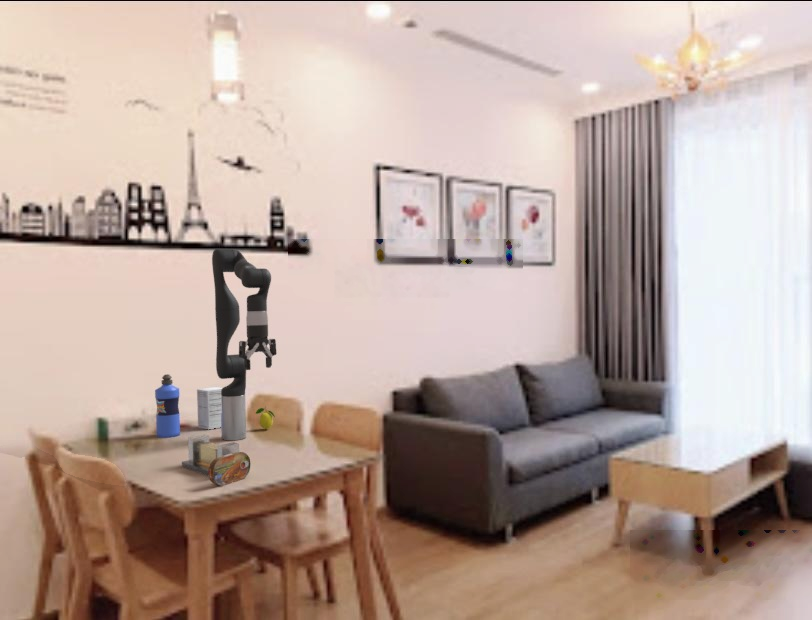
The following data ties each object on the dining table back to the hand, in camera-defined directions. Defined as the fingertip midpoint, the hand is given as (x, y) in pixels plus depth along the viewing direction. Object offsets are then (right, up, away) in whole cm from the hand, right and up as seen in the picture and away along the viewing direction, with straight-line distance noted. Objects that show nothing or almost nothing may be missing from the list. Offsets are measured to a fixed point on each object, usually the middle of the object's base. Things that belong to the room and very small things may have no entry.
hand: (258, 368), depth 241 cm
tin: (0, -31, -38) cm, 49 cm away
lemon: (-6, -30, +41) cm, 51 cm away
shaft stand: (-9, -31, -23) cm, 40 cm away
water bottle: (-44, -30, +32) cm, 63 cm away
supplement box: (-31, -30, +49) cm, 65 cm away
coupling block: (-9, -29, -23) cm, 38 cm away
